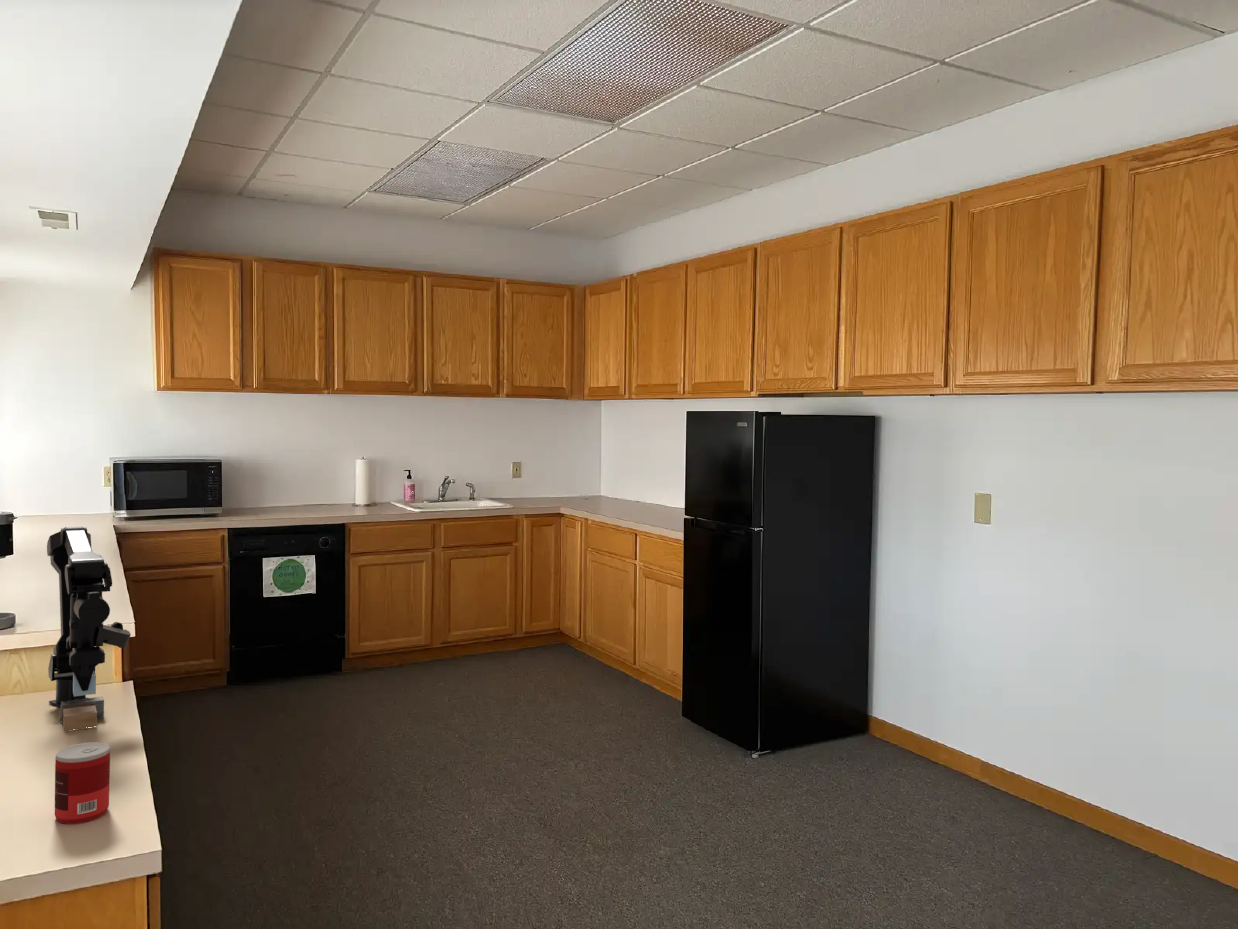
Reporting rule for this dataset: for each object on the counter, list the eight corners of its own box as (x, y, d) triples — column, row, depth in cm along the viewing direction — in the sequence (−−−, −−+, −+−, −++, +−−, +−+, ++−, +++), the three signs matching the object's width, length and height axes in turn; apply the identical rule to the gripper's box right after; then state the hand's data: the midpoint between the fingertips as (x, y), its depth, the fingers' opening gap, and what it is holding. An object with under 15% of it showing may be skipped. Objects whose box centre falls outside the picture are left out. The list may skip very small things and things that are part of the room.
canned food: (119, 806, 153) (120, 743, 153) (86, 826, 145) (88, 760, 145) (77, 803, 154) (78, 740, 153) (43, 823, 146) (44, 757, 145)
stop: (60, 719, 195) (60, 701, 195) (102, 714, 199) (103, 696, 199) (61, 723, 192) (61, 705, 192) (103, 718, 197) (104, 700, 197)
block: (72, 691, 193) (73, 673, 192) (94, 689, 195) (94, 671, 195) (73, 696, 189) (74, 677, 189) (95, 694, 192) (96, 675, 191)
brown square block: (62, 724, 193) (63, 708, 193) (94, 720, 196) (95, 704, 196) (63, 733, 188) (64, 716, 188) (96, 728, 191) (97, 712, 191)
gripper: (132, 622, 188) (131, 694, 189) (123, 605, 204) (122, 673, 204) (71, 626, 182) (69, 702, 183) (66, 609, 197) (65, 678, 198)
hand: (84, 688), depth 192 cm, fingers closed on block, 4 cm apart
